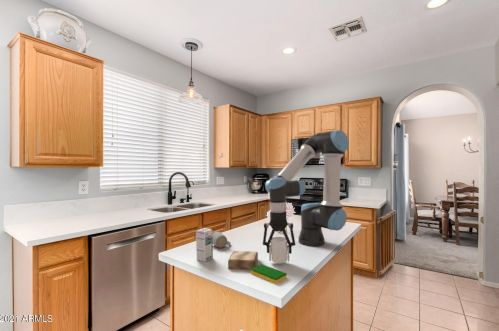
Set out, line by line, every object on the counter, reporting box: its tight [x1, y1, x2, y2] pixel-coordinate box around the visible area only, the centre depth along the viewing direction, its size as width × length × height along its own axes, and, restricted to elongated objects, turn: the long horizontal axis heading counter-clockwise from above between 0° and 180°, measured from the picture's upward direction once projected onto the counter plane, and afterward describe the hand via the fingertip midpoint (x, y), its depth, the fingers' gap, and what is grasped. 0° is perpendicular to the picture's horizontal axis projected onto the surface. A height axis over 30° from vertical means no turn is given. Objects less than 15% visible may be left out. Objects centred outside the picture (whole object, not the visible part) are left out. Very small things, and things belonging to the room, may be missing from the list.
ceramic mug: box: [212, 231, 231, 249], centre depth 141 cm, size 11×8×8 cm
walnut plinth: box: [227, 250, 259, 271], centre depth 114 cm, size 12×12×4 cm
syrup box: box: [195, 227, 214, 263], centre depth 121 cm, size 6×6×14 cm
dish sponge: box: [250, 263, 288, 285], centre depth 102 cm, size 7×14×2 cm, turn 45°
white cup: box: [270, 236, 288, 264], centre depth 115 cm, size 8×8×10 cm
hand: (279, 260), depth 115 cm, fingers closed on white cup, 8 cm apart
